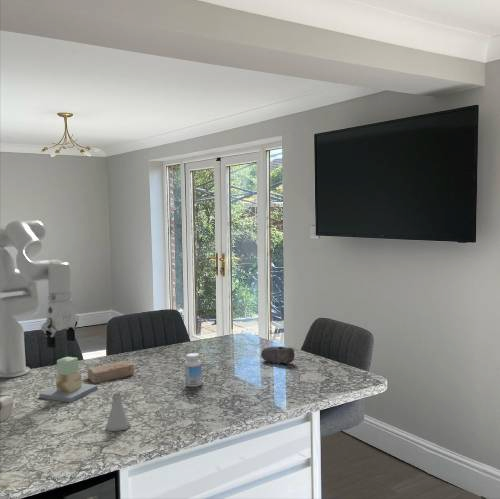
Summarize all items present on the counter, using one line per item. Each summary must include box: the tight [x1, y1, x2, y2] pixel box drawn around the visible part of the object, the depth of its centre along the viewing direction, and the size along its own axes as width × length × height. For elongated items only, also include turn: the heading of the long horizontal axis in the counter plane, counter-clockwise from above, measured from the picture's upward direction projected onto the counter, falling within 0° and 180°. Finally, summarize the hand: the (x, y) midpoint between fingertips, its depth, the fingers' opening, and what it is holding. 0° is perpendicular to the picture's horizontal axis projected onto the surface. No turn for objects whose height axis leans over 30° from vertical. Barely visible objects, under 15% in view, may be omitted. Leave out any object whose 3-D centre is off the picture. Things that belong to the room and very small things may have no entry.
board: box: [39, 382, 99, 403], centre depth 191 cm, size 14×14×2 cm
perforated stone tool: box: [260, 346, 295, 365], centre depth 222 cm, size 15×5×7 cm, turn 56°
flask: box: [105, 392, 131, 432], centre depth 159 cm, size 7×7×10 cm
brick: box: [87, 360, 135, 383], centre depth 211 cm, size 17×8×5 cm, turn 124°
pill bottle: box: [184, 352, 203, 388], centre depth 197 cm, size 6×6×11 cm
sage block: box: [56, 356, 80, 376], centre depth 191 cm, size 5×5×5 cm
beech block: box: [55, 370, 82, 393], centre depth 191 cm, size 6×6×6 cm
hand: (61, 343), depth 192 cm, fingers open, 9 cm apart
